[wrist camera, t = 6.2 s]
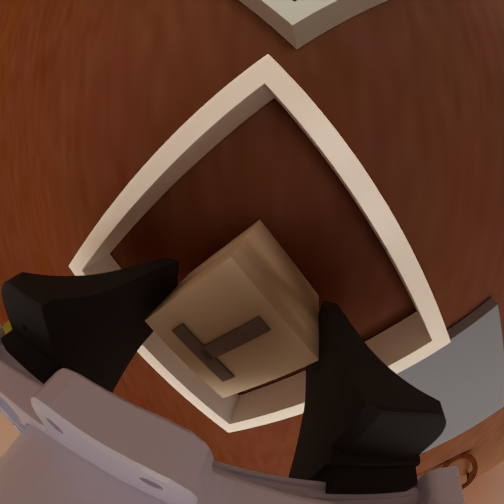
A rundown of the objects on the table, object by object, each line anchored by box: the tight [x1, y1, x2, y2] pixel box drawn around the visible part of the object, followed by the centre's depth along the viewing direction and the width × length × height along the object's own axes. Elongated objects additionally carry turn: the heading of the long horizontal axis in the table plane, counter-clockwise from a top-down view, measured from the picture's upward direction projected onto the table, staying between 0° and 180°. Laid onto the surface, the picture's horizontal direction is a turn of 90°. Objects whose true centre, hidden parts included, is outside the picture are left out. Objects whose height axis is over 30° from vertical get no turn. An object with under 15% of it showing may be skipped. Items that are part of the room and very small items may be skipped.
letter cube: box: [145, 220, 319, 398], centre depth 11 cm, size 4×4×5 cm
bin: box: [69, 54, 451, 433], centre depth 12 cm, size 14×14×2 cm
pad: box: [397, 298, 504, 453], centre depth 13 cm, size 13×13×1 cm
